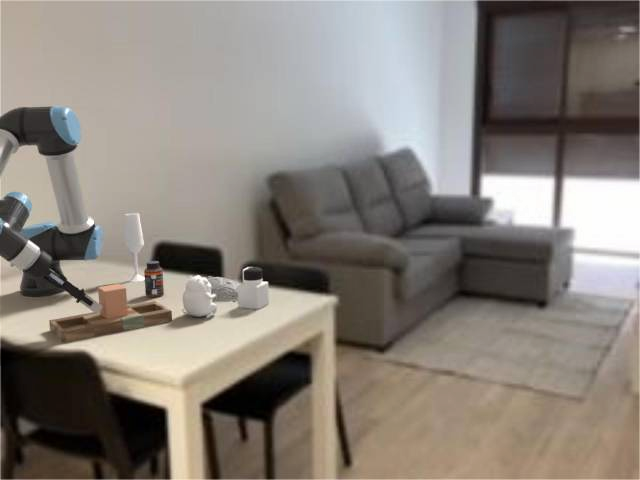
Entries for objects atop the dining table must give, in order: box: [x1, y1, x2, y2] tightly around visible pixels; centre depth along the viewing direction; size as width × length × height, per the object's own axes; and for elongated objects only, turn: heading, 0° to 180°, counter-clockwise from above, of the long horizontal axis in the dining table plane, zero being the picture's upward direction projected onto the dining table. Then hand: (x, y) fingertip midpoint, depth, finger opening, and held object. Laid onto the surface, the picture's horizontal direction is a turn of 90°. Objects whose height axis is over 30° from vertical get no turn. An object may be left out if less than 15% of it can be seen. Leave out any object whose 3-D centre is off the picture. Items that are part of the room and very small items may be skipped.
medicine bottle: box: [237, 266, 270, 310], centre depth 214 cm, size 7×7×12 cm
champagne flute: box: [124, 212, 145, 283], centre depth 248 cm, size 7×7×24 cm
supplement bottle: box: [143, 260, 165, 298], centre depth 228 cm, size 6×6×11 cm
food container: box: [206, 275, 240, 303], centre depth 229 cm, size 16×25×7 cm, turn 43°
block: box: [97, 283, 128, 319], centre depth 197 cm, size 6×6×8 cm
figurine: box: [181, 274, 218, 318], centre depth 204 cm, size 10×10×12 cm
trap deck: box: [49, 300, 173, 344], centre depth 197 cm, size 13×31×3 cm, turn 125°
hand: (99, 309), depth 194 cm, fingers closed
